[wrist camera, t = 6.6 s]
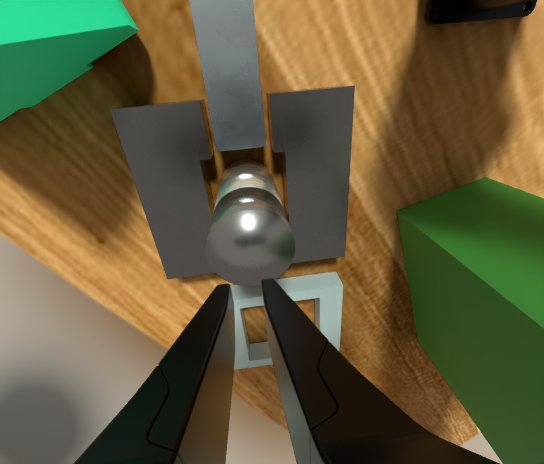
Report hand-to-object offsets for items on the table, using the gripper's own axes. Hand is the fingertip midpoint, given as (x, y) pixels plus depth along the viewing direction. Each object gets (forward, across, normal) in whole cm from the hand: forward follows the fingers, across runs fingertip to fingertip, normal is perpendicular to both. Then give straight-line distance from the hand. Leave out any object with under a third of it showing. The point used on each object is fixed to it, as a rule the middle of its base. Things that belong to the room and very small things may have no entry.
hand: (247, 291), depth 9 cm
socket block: (+12, 0, 0) cm, 12 cm away
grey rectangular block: (+12, 0, -7) cm, 14 cm away
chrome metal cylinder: (+12, 0, 0) cm, 12 cm away
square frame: (+12, -2, +14) cm, 19 cm away
